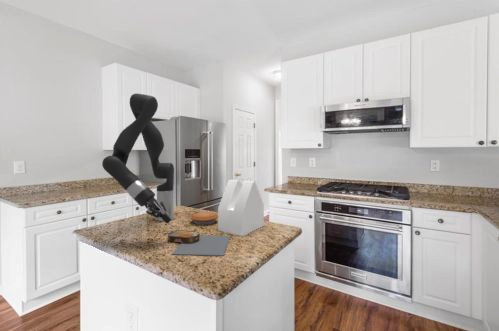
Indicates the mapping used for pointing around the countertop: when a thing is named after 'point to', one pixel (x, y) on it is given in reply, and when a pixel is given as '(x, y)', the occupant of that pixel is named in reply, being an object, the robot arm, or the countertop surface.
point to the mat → (204, 246)
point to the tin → (183, 236)
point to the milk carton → (240, 208)
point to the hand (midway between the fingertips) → (169, 221)
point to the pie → (204, 218)
